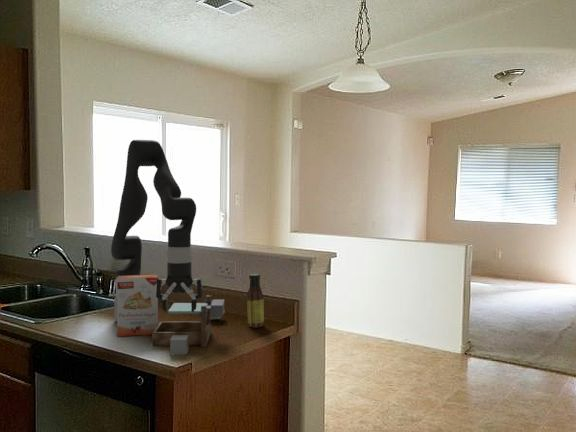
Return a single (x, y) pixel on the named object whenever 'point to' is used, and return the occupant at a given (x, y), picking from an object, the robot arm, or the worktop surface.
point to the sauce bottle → (255, 302)
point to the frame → (185, 329)
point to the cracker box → (137, 305)
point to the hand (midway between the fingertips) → (179, 311)
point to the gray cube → (179, 344)
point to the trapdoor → (198, 308)
